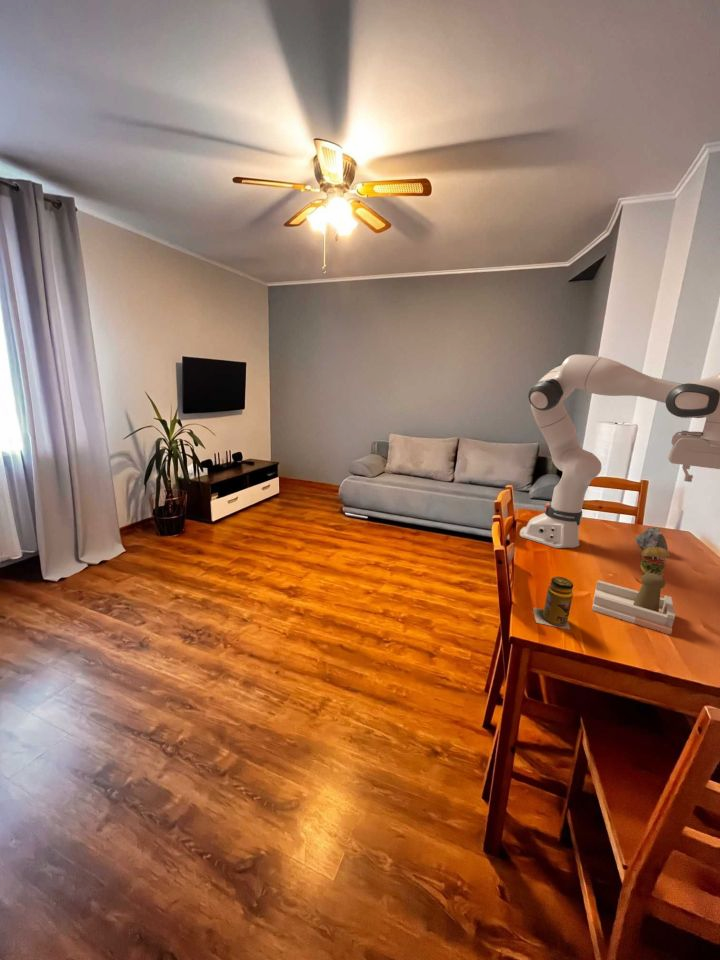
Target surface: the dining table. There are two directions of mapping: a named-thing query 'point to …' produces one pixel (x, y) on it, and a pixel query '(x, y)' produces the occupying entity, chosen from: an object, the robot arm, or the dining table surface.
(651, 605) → the cork
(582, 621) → the dining table surface
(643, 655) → the dining table surface
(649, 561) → the hamburger
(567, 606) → the condiment
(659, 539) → the mineral rock
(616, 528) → the dining table surface
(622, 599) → the white tray
